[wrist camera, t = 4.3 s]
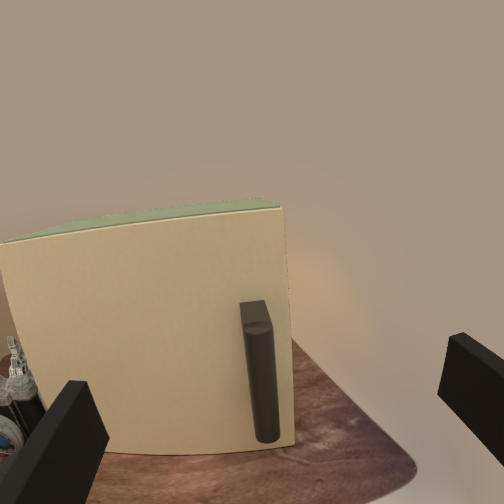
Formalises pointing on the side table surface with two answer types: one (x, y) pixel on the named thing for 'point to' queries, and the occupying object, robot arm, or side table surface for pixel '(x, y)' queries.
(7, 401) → the camera
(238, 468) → the side table surface
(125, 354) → the cupboard door
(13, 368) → the house of cards
